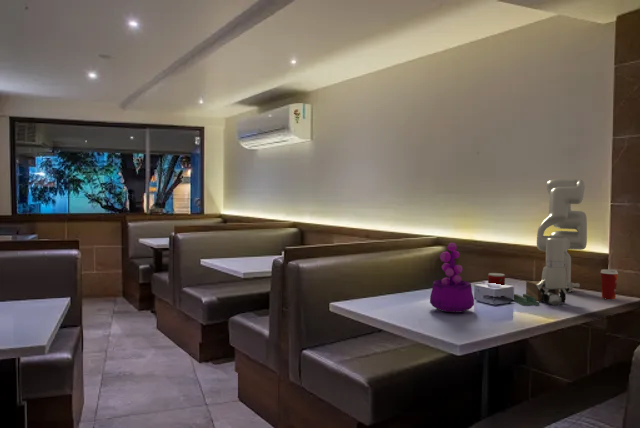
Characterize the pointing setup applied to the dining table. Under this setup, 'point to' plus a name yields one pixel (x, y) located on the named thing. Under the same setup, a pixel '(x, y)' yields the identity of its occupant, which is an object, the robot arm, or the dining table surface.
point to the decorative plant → (451, 286)
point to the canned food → (496, 278)
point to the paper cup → (608, 283)
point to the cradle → (525, 299)
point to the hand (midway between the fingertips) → (553, 301)
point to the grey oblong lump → (553, 299)
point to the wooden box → (537, 290)
